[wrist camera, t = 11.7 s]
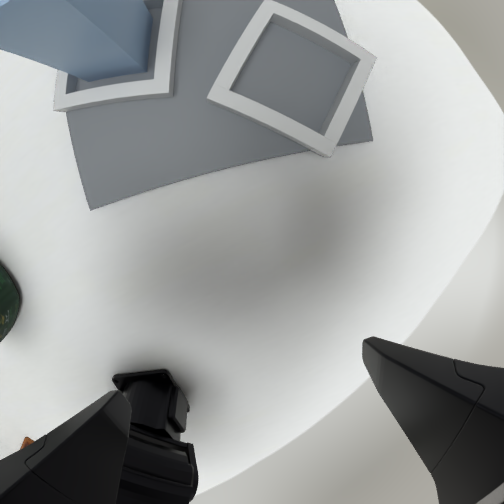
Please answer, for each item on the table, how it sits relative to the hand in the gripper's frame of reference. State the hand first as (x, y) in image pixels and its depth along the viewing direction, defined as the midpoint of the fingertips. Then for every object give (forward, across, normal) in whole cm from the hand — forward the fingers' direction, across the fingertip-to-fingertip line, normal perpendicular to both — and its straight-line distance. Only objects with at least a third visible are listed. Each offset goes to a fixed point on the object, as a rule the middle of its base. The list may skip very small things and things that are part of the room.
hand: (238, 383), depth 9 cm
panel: (+13, +2, +14) cm, 19 cm away
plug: (+12, -4, +17) cm, 21 cm away
